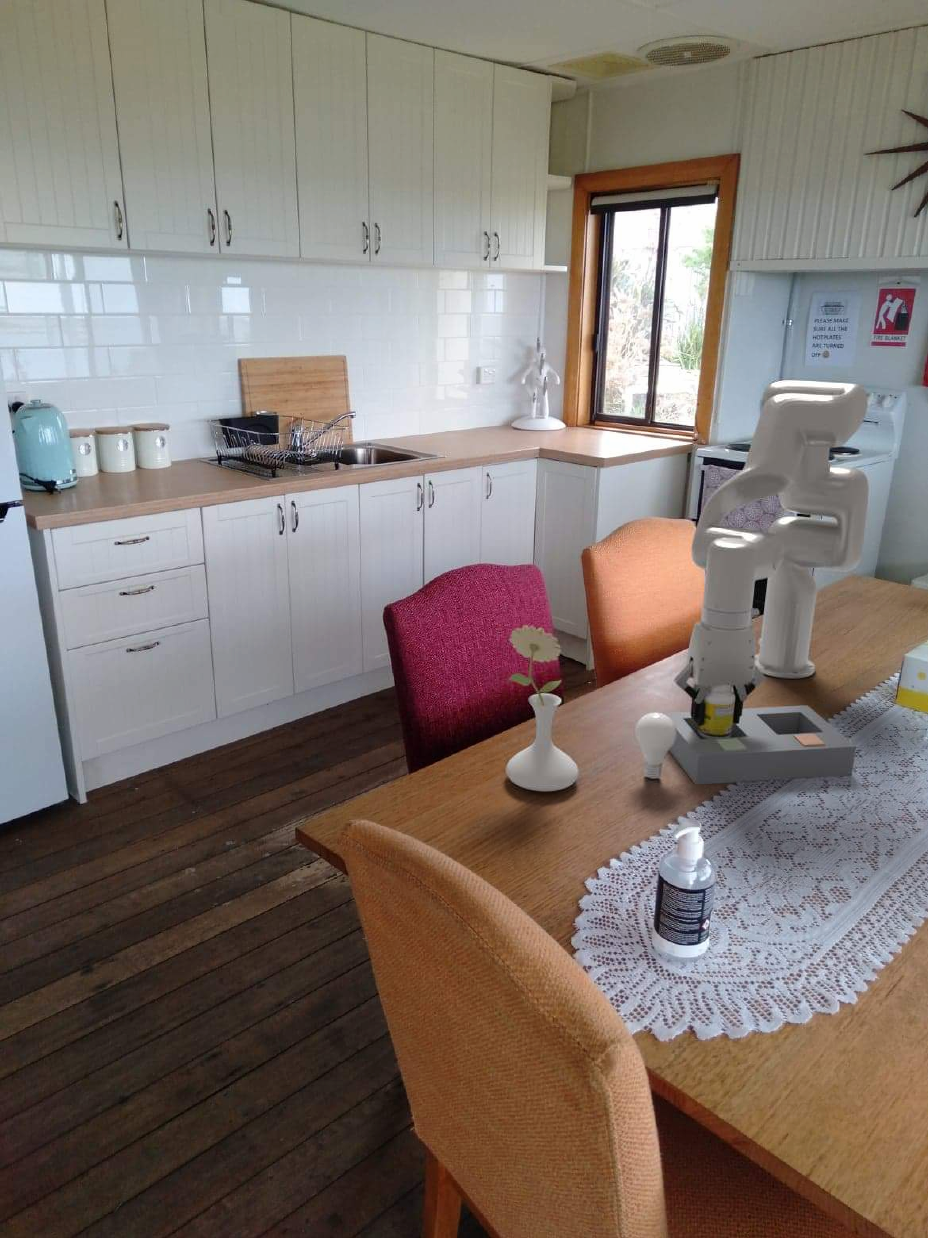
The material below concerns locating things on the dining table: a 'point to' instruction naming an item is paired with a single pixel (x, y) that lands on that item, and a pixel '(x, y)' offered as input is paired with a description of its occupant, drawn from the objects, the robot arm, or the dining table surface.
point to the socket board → (763, 747)
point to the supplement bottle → (718, 712)
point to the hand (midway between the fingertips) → (715, 720)
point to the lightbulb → (655, 741)
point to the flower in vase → (540, 721)
